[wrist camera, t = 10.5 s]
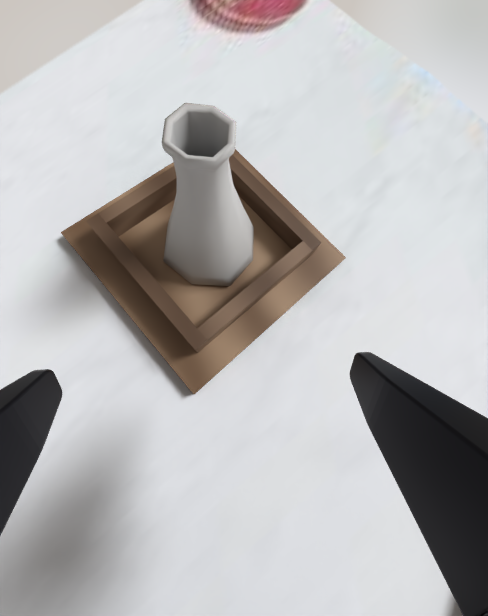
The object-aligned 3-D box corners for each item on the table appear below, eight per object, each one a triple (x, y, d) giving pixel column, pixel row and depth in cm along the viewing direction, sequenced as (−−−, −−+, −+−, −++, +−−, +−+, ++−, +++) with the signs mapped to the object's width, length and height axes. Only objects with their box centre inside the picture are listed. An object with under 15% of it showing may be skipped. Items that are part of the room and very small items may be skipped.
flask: (236, 302, 20) (251, 230, 10) (147, 268, 20) (76, 165, 10) (267, 224, 22) (303, 101, 12) (185, 194, 22) (157, 48, 12)
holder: (195, 393, 18) (190, 396, 16) (66, 237, 21) (43, 216, 18) (341, 261, 22) (358, 245, 19) (219, 141, 24) (219, 111, 22)
